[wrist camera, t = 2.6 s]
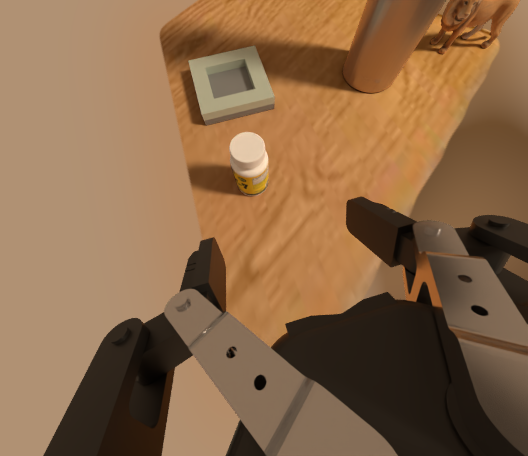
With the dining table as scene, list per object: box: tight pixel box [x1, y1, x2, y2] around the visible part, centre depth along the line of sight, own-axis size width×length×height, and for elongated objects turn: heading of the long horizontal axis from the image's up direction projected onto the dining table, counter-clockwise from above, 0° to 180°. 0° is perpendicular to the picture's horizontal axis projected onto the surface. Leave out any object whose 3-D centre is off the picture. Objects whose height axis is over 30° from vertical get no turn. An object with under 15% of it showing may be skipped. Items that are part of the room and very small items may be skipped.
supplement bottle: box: [229, 132, 268, 196], centre depth 25 cm, size 5×5×8 cm
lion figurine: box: [430, 0, 520, 54], centre depth 31 cm, size 15×5×9 cm, turn 106°
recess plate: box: [188, 45, 275, 125], centre depth 32 cm, size 12×12×2 cm
